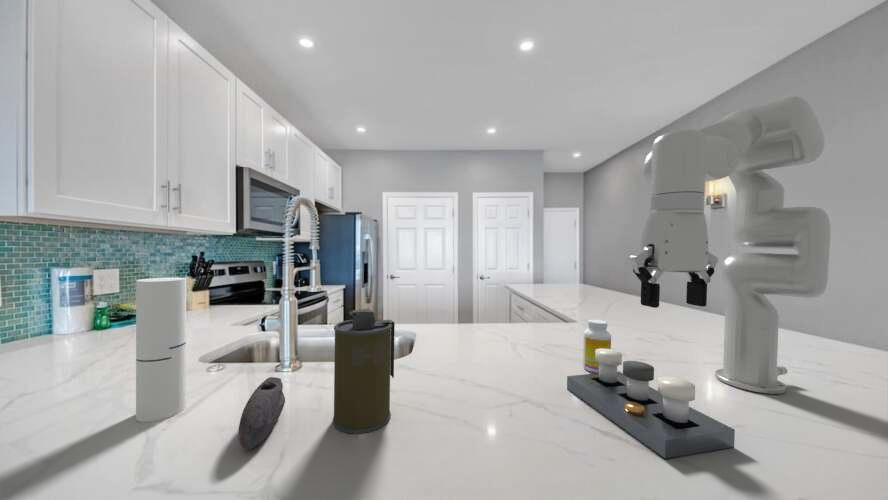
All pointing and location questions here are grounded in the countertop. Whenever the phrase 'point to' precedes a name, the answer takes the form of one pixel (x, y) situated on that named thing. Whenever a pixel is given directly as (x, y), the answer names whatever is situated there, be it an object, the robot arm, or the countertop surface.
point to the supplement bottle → (594, 343)
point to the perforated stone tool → (261, 412)
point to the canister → (363, 372)
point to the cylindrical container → (160, 348)
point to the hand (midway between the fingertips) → (673, 305)
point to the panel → (652, 418)
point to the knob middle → (638, 378)
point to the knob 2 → (676, 397)
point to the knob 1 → (608, 364)
